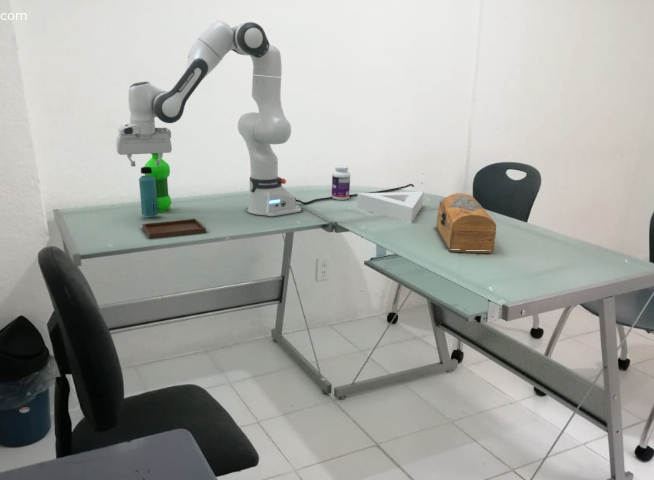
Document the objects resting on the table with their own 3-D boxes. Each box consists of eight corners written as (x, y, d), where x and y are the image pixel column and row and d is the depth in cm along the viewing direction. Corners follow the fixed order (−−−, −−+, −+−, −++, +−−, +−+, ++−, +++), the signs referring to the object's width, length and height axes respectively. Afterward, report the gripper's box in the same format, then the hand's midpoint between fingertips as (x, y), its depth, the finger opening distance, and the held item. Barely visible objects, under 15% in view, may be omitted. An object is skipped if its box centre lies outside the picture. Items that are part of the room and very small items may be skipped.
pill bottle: (330, 196, 277) (331, 164, 271) (347, 196, 277) (348, 164, 272) (332, 200, 269) (334, 168, 264) (350, 200, 270) (352, 168, 264)
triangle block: (356, 207, 259) (357, 193, 257) (396, 198, 275) (397, 185, 273) (411, 223, 239) (412, 208, 236) (450, 212, 255) (452, 198, 252)
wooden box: (433, 227, 234) (437, 192, 228) (476, 229, 233) (481, 193, 227) (444, 252, 206) (449, 213, 201) (493, 254, 206) (499, 214, 200)
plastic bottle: (162, 205, 255) (157, 145, 245) (177, 210, 249) (173, 149, 239) (142, 210, 248) (136, 148, 238) (157, 215, 242) (152, 152, 232)
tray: (195, 223, 233) (195, 218, 232) (205, 232, 222) (205, 228, 221) (142, 228, 225) (142, 223, 224) (149, 238, 214) (149, 234, 213)
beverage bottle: (154, 220, 235) (150, 169, 227) (139, 219, 236) (134, 168, 228) (161, 216, 240) (157, 166, 232) (146, 215, 242) (141, 165, 234)
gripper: (168, 126, 231) (170, 162, 236) (113, 127, 223) (117, 165, 228) (172, 128, 226) (174, 165, 231) (116, 130, 218) (120, 168, 223)
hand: (145, 165), depth 230 cm, fingers open, 8 cm apart
